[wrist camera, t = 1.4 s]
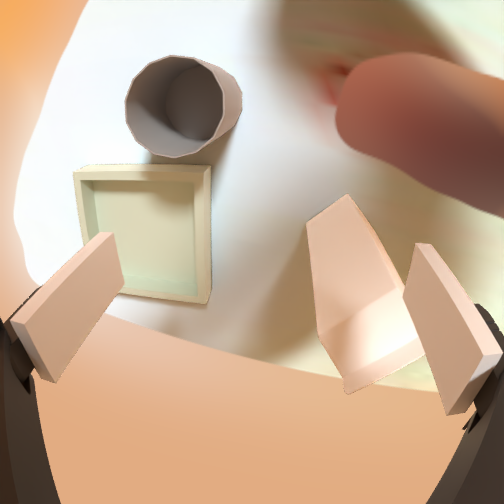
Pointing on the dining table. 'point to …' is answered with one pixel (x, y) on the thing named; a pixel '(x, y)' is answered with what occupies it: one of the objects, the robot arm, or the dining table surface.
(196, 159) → the dining table surface
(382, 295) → the milk
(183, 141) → the cup
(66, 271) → the robot arm
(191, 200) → the bin
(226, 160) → the dining table surface
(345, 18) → the dining table surface
